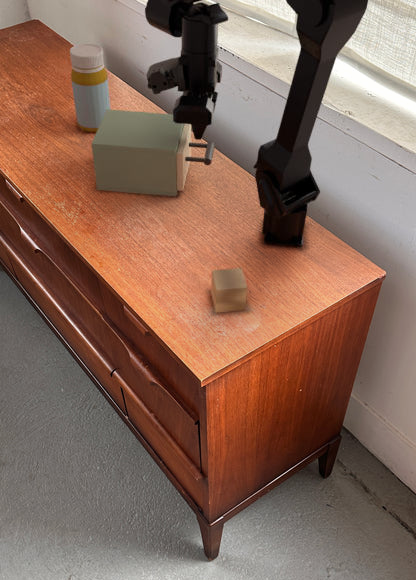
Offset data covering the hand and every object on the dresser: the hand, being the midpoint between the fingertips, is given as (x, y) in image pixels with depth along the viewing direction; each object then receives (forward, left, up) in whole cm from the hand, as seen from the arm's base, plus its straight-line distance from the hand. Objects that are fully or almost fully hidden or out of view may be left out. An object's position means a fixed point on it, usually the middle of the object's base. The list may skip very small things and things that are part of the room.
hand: (198, 138), depth 111 cm
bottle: (+24, -17, -8) cm, 30 cm away
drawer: (+6, 0, -7) cm, 10 cm away
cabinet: (+10, 0, -8) cm, 13 cm away
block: (-8, +33, -8) cm, 35 cm away
